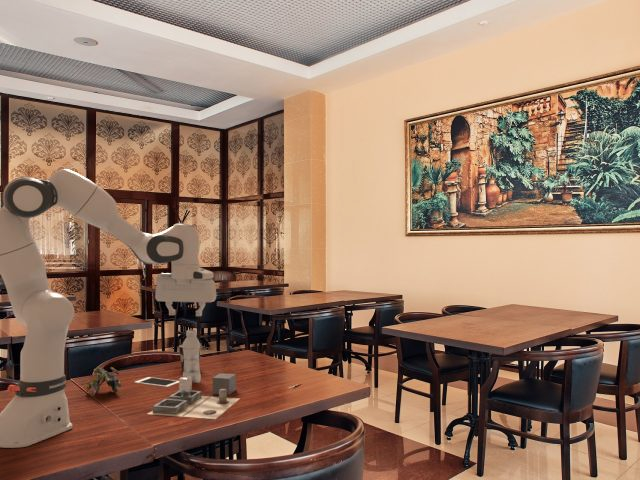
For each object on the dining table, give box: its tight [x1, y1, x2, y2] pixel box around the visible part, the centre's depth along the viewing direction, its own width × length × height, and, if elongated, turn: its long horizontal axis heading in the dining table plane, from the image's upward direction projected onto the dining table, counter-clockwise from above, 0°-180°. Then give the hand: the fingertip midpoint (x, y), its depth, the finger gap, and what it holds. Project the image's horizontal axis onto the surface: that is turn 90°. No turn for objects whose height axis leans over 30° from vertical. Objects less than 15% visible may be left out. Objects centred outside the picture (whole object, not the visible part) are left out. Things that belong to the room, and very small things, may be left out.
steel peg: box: [178, 376, 193, 397], centre depth 167 cm, size 4×4×7 cm
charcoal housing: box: [212, 372, 237, 396], centre depth 175 cm, size 6×6×7 cm
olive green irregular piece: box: [80, 366, 122, 398], centre depth 178 cm, size 11×11×12 cm
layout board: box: [147, 389, 241, 420], centre depth 160 cm, size 20×22×6 cm
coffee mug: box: [179, 344, 201, 372], centre depth 211 cm, size 12×9×10 cm
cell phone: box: [134, 376, 179, 388], centre depth 194 cm, size 8×16×1 cm, turn 67°
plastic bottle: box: [181, 329, 202, 384], centre depth 191 cm, size 6×7×20 cm
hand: (185, 315), depth 167 cm, fingers open, 8 cm apart
